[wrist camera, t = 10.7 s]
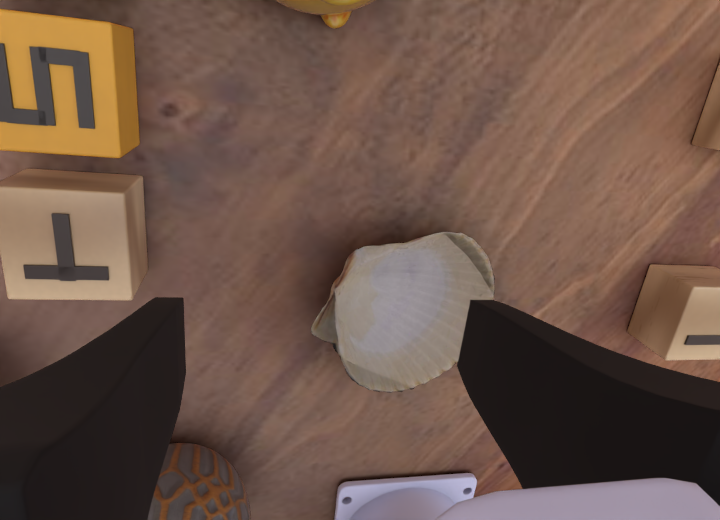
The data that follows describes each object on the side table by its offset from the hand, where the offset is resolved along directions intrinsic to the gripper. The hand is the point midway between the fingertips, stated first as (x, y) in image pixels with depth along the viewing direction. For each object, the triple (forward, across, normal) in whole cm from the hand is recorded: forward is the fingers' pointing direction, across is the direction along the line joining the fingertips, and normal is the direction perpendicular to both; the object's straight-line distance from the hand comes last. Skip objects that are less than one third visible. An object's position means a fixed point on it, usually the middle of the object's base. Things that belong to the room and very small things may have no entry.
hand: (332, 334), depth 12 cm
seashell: (+10, -5, +3) cm, 11 cm away
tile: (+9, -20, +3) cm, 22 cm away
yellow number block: (+9, +8, -5) cm, 13 cm away
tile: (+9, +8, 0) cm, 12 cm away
